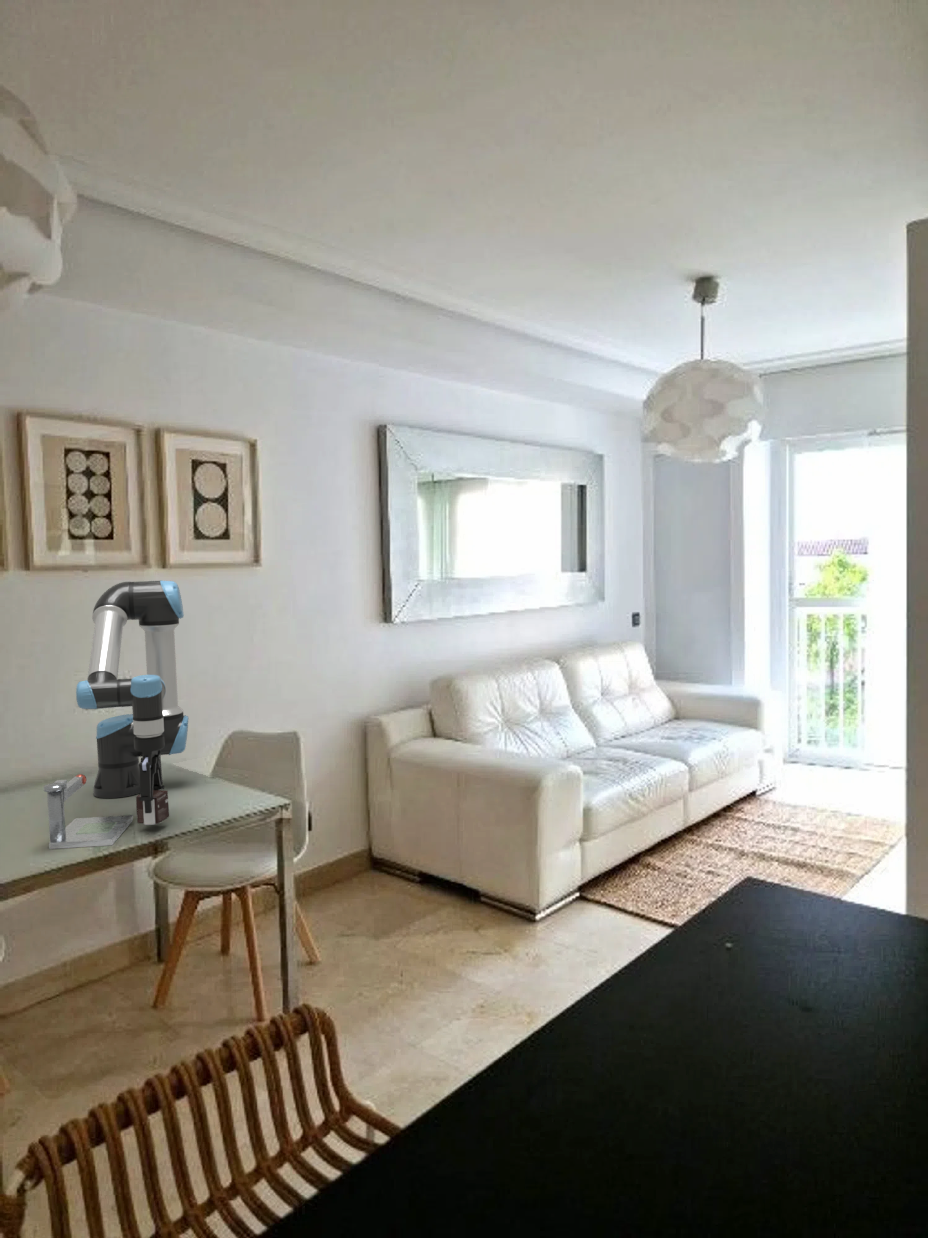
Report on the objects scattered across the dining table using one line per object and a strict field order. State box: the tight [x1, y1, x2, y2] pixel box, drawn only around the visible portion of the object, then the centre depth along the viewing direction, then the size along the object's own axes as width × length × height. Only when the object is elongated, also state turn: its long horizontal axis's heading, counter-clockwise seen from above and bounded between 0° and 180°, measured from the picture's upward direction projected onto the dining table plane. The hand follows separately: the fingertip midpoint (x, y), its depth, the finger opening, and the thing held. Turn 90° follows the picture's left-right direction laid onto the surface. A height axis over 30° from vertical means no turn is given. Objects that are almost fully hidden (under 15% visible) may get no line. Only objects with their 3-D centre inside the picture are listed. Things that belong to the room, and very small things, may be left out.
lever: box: [43, 773, 87, 803], centre depth 220 cm, size 23×5×5 cm, turn 7°
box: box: [135, 789, 170, 825], centre depth 223 cm, size 6×6×7 cm
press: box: [46, 790, 134, 850], centre depth 220 cm, size 20×15×14 cm
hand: (153, 819), depth 224 cm, fingers closed on box, 7 cm apart
